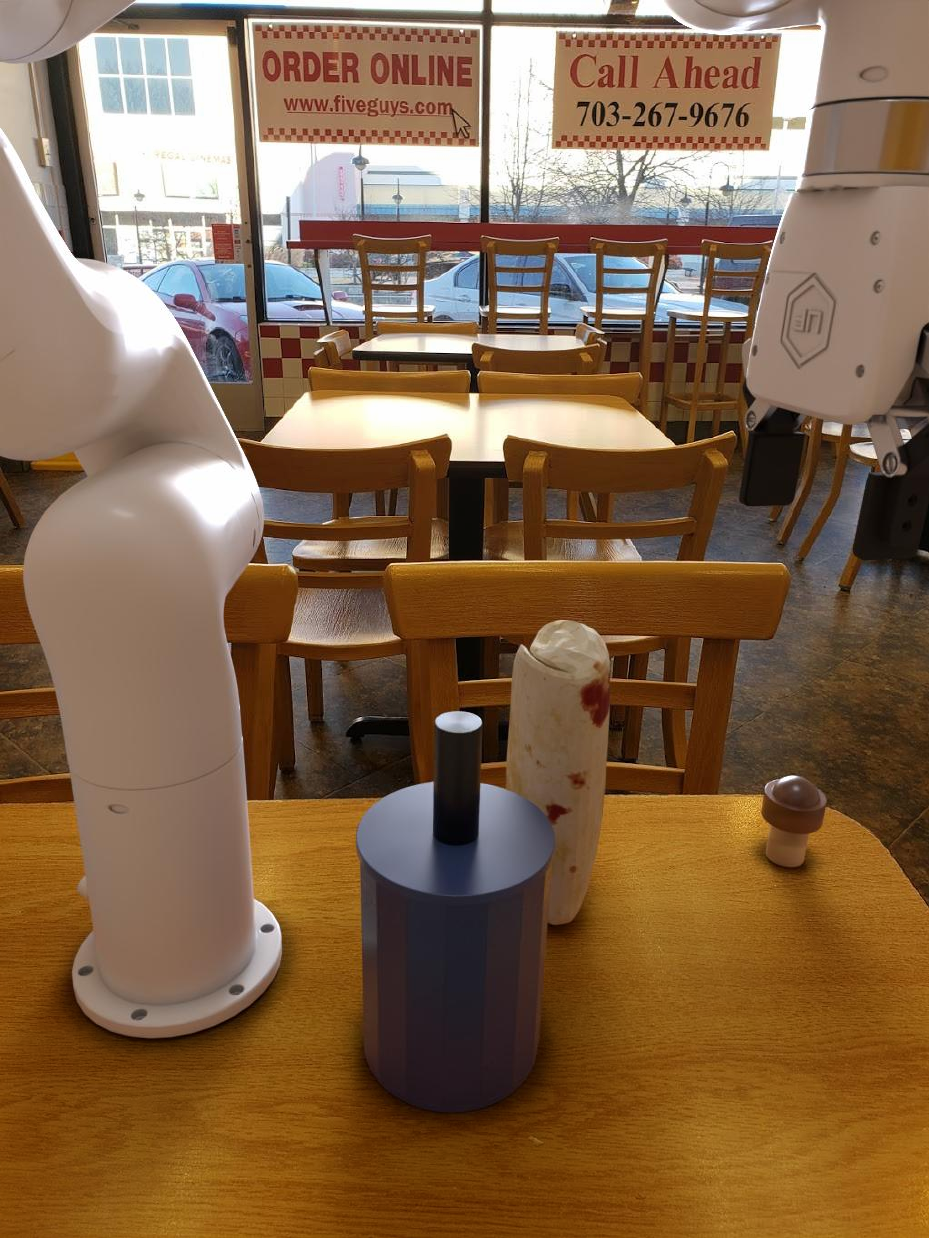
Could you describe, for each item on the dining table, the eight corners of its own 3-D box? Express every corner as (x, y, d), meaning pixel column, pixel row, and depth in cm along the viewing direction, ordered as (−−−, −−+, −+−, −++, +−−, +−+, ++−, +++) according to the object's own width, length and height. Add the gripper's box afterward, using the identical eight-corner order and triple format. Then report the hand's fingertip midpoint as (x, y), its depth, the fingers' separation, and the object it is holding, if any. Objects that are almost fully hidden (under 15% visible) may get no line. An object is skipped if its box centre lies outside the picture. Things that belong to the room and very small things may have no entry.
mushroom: (745, 858, 71) (757, 780, 69) (767, 833, 75) (780, 758, 72) (803, 881, 69) (818, 802, 66) (823, 854, 72) (838, 777, 70)
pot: (327, 1048, 53) (319, 849, 48) (439, 954, 61) (442, 772, 56) (465, 1147, 48) (472, 932, 43) (570, 1030, 55) (586, 835, 50)
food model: (607, 938, 63) (634, 664, 55) (507, 939, 62) (521, 664, 55) (584, 851, 72) (604, 606, 64) (497, 851, 71) (507, 605, 64)
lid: (314, 858, 49) (309, 727, 46) (441, 778, 56) (443, 661, 54) (473, 947, 43) (478, 802, 40) (591, 844, 50) (602, 716, 48)
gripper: (714, 166, 49) (673, 490, 55) (966, 133, 33) (869, 589, 39) (837, 175, 51) (784, 487, 57) (1129, 149, 35) (1012, 580, 41)
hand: (819, 528), depth 48 cm, fingers open, 9 cm apart
